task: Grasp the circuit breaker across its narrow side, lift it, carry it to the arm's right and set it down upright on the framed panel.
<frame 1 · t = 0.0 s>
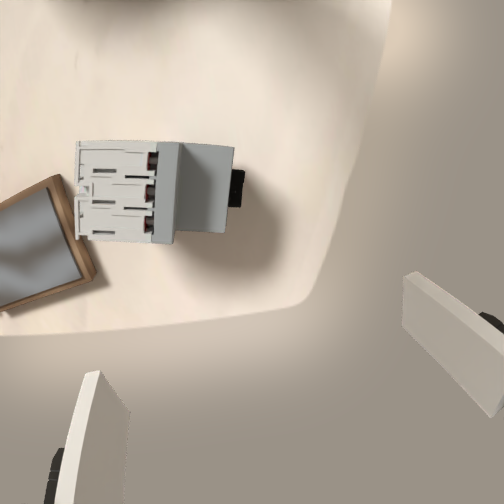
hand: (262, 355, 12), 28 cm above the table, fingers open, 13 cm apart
circuit breaker: (172, 172, 35), on the table
framed panel: (22, 247, 34), on the table
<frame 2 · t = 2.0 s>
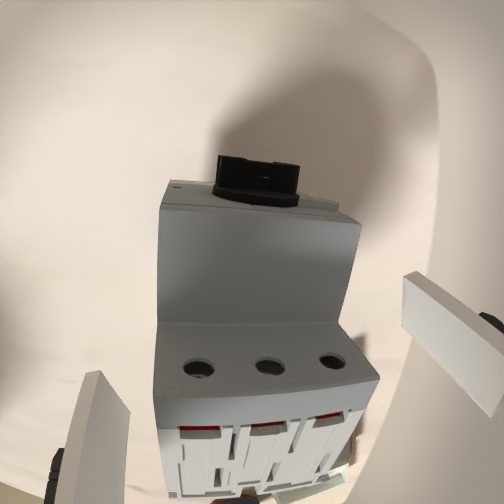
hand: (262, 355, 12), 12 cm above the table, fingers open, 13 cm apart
mug: (226, 500, 38), on the table
circuit breaker: (218, 250, 23), on the table
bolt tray: (306, 474, 38), on the table
framed panel: (294, 427, 32), on the table
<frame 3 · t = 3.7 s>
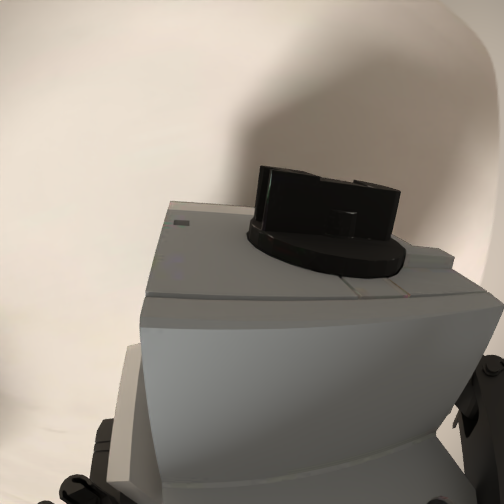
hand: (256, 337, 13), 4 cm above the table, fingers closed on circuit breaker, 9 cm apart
circuit breaker: (240, 291, 17), on the table, touching gripper
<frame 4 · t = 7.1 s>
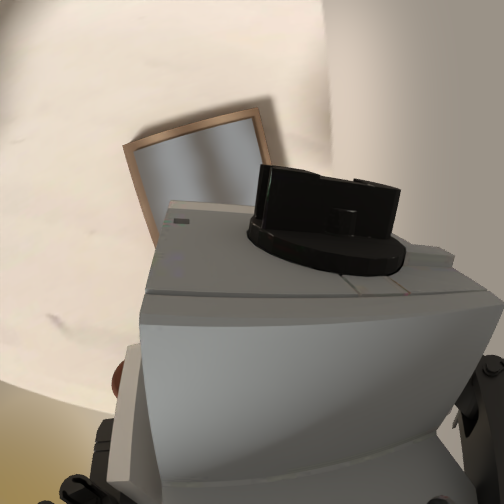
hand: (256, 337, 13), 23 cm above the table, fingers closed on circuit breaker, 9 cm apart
circuit breaker: (240, 290, 17), point 19 cm above the table, touching gripper
framed panel: (213, 212, 34), on the table
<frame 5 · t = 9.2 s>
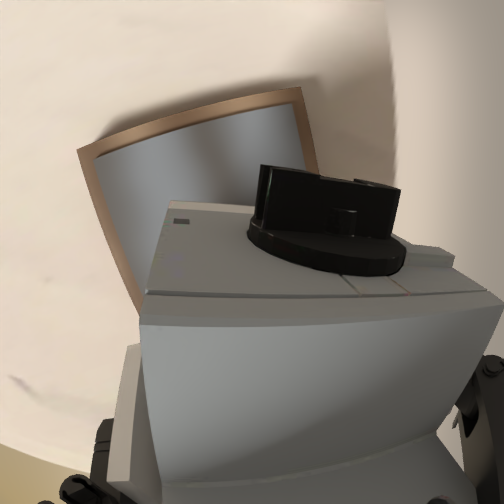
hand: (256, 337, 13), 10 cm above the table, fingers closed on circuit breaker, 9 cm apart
circuit breaker: (240, 291, 17), point 6 cm above the table, touching gripper
framed panel: (225, 251, 22), on the table
when the fingers open (7 cm above the table, at t = 10.8 s): circuit breaker stays where it is, resting on framed panel.
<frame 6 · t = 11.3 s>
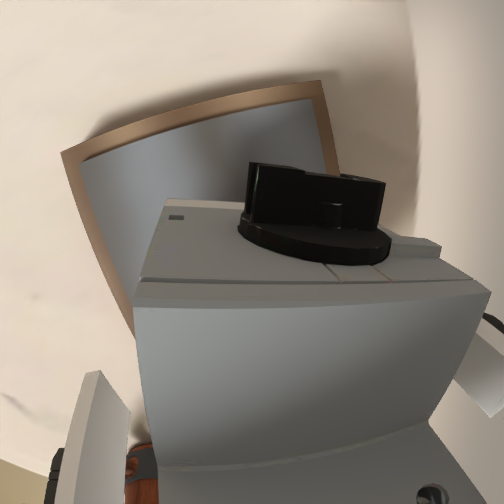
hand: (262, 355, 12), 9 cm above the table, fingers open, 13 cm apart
mug: (150, 454, 26), on the table
circuit breaker: (237, 286, 17), point 3 cm above the table, touching framed panel
framed panel: (231, 267, 20), on the table
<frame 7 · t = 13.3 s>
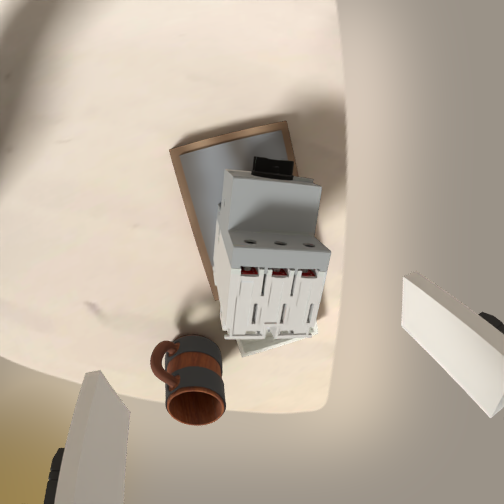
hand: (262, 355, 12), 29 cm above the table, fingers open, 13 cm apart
mug: (185, 347, 45), on the table
circuit breaker: (248, 214, 37), point 3 cm above the table, touching framed panel
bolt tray: (270, 312, 45), on the table
framed panel: (245, 210, 39), on the table
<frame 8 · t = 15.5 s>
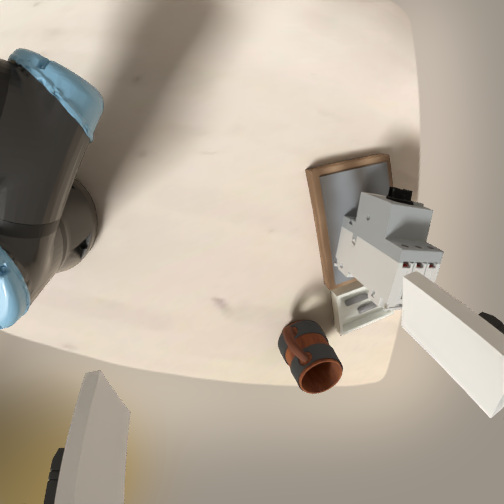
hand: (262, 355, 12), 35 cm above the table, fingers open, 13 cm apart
mug: (293, 331, 55), on the table
circuit breaker: (361, 223, 47), point 3 cm above the table, touching framed panel
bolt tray: (360, 298, 56), on the table
framed panel: (353, 219, 49), on the table
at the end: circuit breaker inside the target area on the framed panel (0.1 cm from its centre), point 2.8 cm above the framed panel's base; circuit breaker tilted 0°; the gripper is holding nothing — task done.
